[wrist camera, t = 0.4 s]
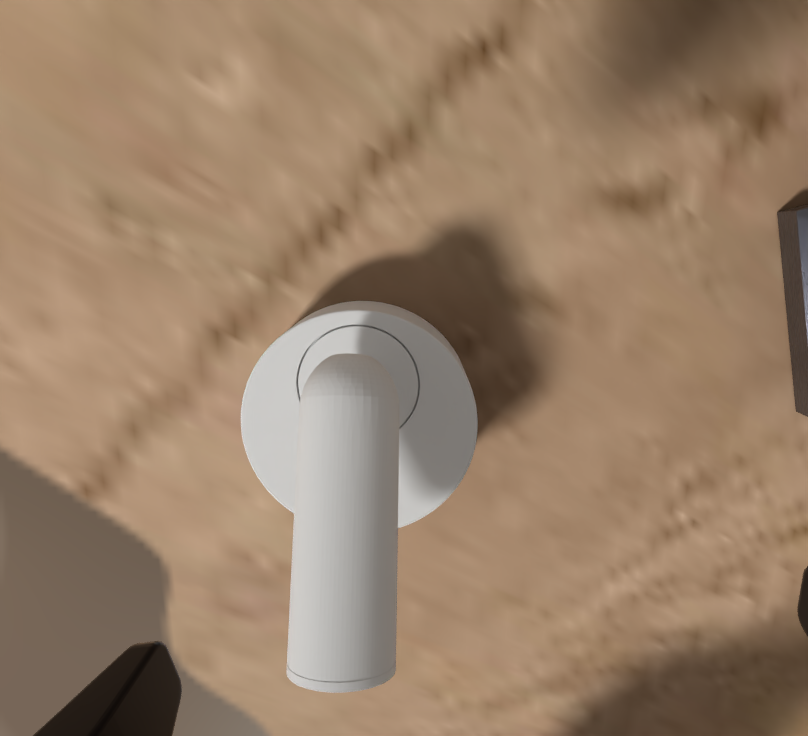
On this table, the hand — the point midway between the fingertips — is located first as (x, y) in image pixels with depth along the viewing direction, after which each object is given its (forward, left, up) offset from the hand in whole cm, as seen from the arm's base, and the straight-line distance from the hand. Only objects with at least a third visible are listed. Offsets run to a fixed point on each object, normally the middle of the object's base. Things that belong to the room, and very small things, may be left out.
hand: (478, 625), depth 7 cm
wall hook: (-1, +3, -14) cm, 15 cm away
